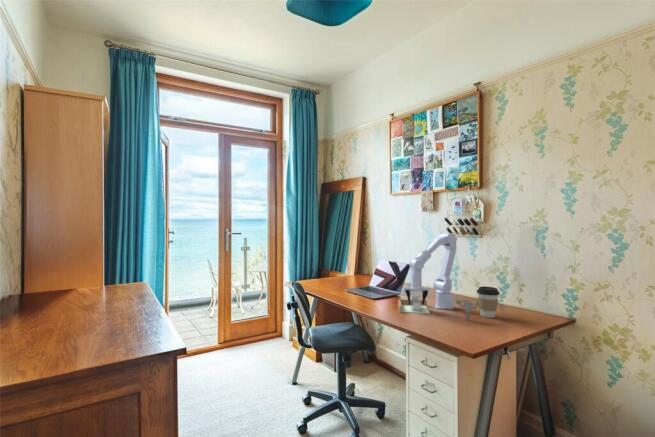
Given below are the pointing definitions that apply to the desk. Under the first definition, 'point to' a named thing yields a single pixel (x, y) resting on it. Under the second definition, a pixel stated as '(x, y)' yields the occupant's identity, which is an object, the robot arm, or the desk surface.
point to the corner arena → (407, 307)
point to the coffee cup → (488, 301)
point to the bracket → (416, 302)
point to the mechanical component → (467, 306)
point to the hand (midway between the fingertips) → (416, 303)
